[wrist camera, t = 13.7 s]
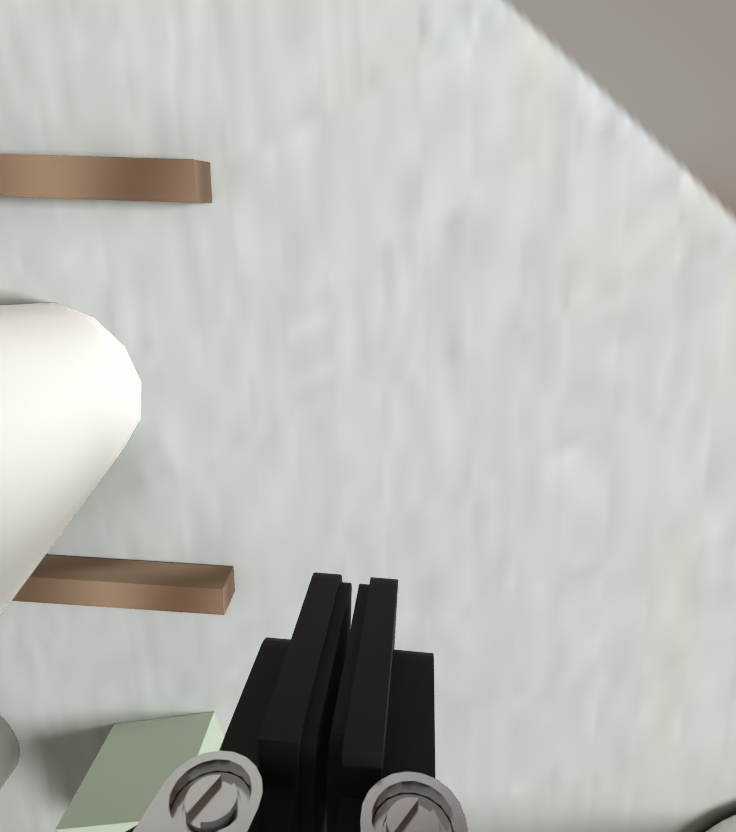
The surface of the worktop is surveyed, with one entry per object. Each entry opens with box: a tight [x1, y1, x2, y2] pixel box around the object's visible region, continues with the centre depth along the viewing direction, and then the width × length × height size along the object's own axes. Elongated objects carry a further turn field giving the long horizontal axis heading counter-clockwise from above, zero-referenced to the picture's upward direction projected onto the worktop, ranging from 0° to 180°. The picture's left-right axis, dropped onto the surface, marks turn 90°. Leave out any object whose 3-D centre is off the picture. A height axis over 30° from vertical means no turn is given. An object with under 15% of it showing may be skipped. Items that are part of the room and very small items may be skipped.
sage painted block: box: [55, 712, 224, 832], centre depth 26 cm, size 5×5×5 cm
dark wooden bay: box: [0, 154, 235, 615], centre depth 21 cm, size 15×16×2 cm
